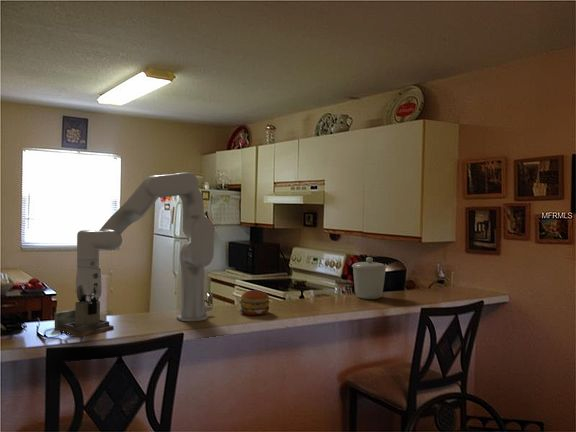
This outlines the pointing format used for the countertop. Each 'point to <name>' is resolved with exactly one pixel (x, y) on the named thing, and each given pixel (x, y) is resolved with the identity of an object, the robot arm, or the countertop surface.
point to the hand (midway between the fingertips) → (87, 312)
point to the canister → (369, 279)
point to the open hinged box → (67, 324)
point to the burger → (254, 303)
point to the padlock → (85, 312)
